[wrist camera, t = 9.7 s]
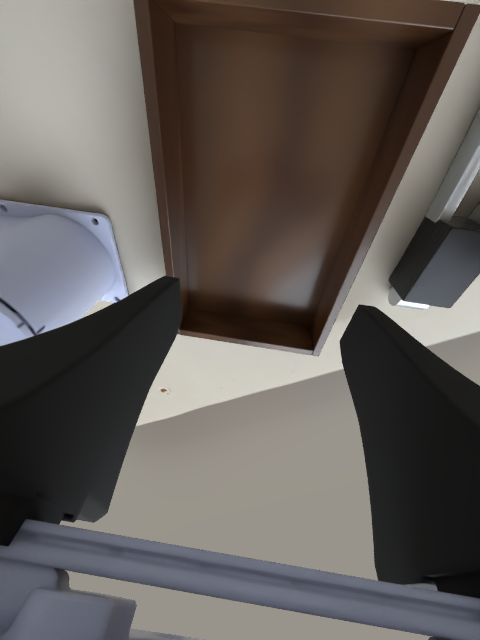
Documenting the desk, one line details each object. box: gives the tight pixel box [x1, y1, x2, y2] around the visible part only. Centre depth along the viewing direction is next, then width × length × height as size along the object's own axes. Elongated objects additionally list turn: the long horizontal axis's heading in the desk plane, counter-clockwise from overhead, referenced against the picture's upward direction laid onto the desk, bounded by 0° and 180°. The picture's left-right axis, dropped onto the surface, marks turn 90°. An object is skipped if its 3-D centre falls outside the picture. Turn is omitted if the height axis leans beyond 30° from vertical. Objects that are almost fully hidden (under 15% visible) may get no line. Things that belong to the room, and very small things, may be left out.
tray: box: [133, 0, 480, 356], centre depth 15 cm, size 12×18×4 cm
